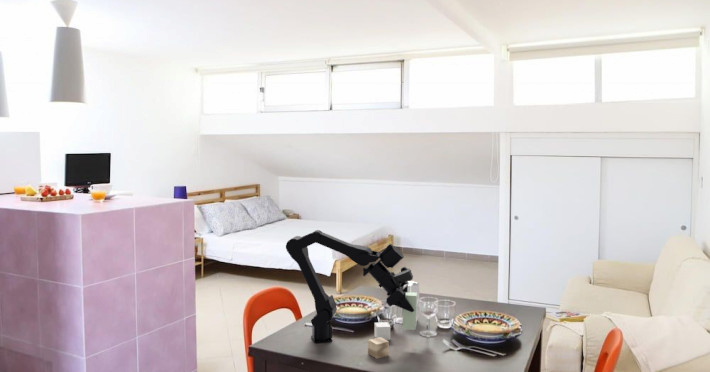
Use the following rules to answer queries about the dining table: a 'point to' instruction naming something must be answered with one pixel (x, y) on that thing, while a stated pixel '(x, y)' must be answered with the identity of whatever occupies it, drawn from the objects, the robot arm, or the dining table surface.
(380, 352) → the oak cube
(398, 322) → the dining table surface
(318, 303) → the robot arm
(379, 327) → the white cube
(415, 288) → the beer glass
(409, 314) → the sage block
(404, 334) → the dining table surface
